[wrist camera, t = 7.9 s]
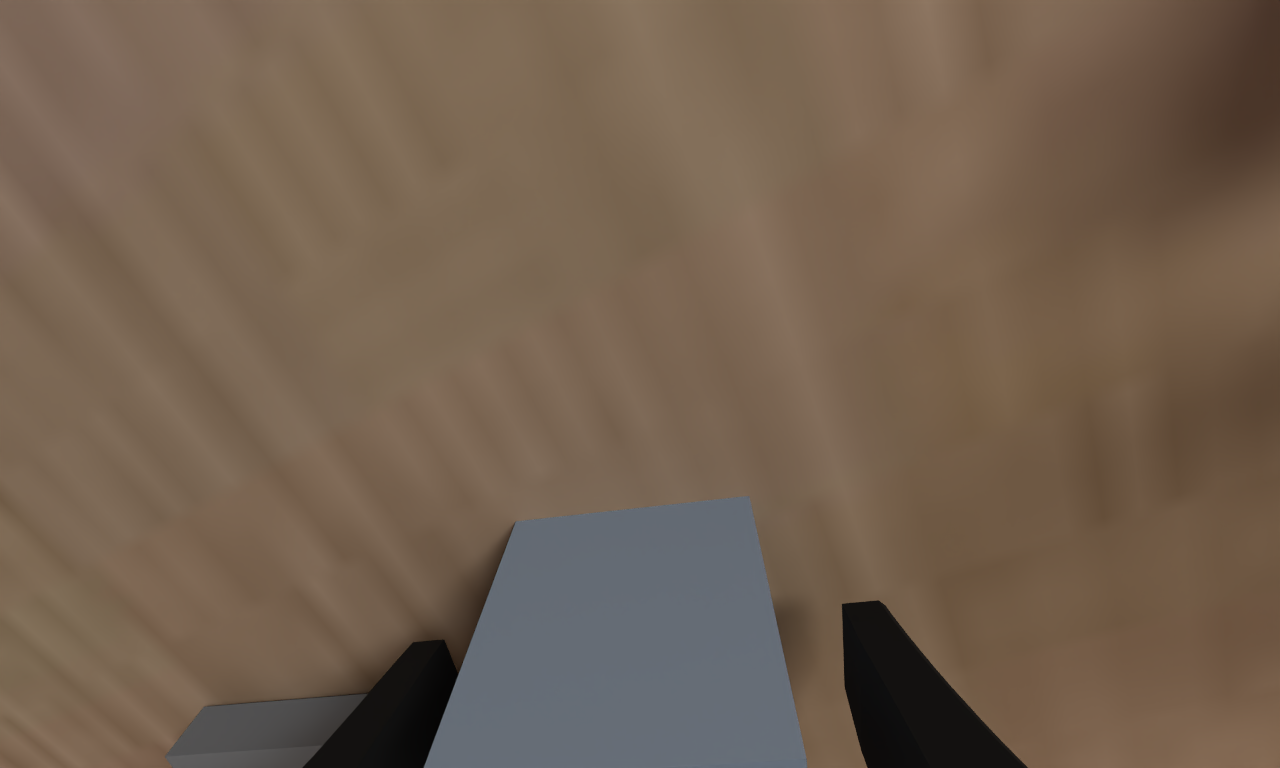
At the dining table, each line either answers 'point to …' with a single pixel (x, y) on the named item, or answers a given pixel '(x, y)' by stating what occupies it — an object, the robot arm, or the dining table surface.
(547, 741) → the brick
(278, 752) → the build base
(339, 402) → the dining table surface
